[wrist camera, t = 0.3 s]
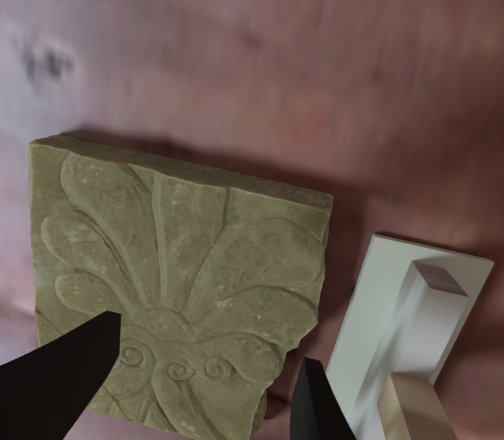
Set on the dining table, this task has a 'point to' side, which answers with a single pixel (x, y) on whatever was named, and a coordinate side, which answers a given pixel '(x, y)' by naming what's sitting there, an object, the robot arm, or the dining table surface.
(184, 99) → the dining table surface
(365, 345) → the mat
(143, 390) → the decorative tile
